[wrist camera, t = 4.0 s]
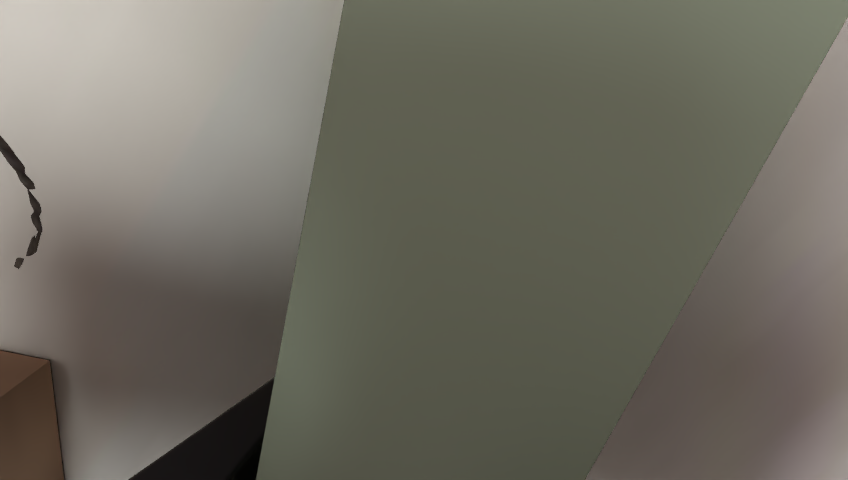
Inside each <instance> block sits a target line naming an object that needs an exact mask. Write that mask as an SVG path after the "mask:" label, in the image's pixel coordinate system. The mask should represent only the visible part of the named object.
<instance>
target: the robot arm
mask: <svg viewBox="0 0 848 480" xmlns="http://www.w3.org/2000/svg"><path fill="white" fill-rule="evenodd" d="M274 379H275V378H273V379H272V380H270V381H269V382H267V383H266V384H265V385H263V386H262V387H260V388H259V389H257V390H256V391H255V392H253V393H252V394H250V395H249V396H247V397H246V398H245V399H243V400H242V401H240V402H239V403H237V404H236V405H234V406H233V407H232V408H230V409H229V410H227V411H226V412H224V413H223V414H222V415H220V416H219V417H217V418H216V419H214V420H213V421H212V422H210V423H209V424H207V425H206V426H204V427H203V428H202V429H200V430H199V431H197V432H196V433H194V434H193V435H192V436H190V437H189V438H187V439H186V440H184V441H183V442H182V443H180V444H179V445H177V446H176V447H174V448H173V449H172V450H170V451H169V452H167V453H166V454H164V455H163V456H161V457H160V458H159V459H157V460H156V461H154V462H153V463H151V464H150V465H149V466H147V467H146V468H144V469H143V470H141V471H140V472H139V473H137V474H136V475H134V476H133V477H131V478H130V479H129V480H256V477H257V471H258V466H259V460H260V455H261V450H262V444H263V439H264V433H265V428H266V422H267V417H268V412H269V406H270V401H271V395H272V390H273V385H274Z"/></svg>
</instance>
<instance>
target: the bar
mask: <svg viewBox="0 0 848 480" xmlns="http://www.w3.org/2000/svg"><path fill="white" fill-rule="evenodd" d="M847 17H848V0H344V5H343V10H342V16H341V21H340V27H339V32H338V38H337V43H336V48H335V54H334V59H333V65H332V70H331V76H330V81H329V86H328V92H327V97H326V103H325V108H324V113H323V119H322V124H321V130H320V135H319V141H318V146H317V151H316V157H315V162H314V168H313V173H312V179H311V184H310V189H309V195H308V200H307V206H306V211H305V216H304V222H303V227H302V233H301V238H300V244H299V249H298V254H297V260H296V265H295V271H294V276H293V282H292V287H291V292H290V298H289V303H288V309H287V314H286V319H285V325H284V330H283V336H282V341H281V347H280V352H279V357H278V363H277V368H276V374H275V379H274V385H273V390H272V395H271V401H270V406H269V412H268V417H267V422H266V428H265V433H264V439H263V444H262V450H261V455H260V460H259V466H258V471H257V477H256V480H585V479H586V477H587V475H588V473H589V471H590V470H591V468H592V466H593V464H594V463H595V461H596V459H597V457H598V456H599V454H600V452H601V450H602V449H603V447H604V445H605V443H606V442H607V440H608V438H609V436H610V435H611V433H612V431H613V429H614V427H615V426H616V424H617V422H618V420H619V419H620V417H621V415H622V413H623V412H624V410H625V408H626V406H627V405H628V403H629V401H630V399H631V398H632V396H633V394H634V392H635V390H636V389H637V387H638V385H639V383H640V382H641V380H642V378H643V376H644V375H645V373H646V371H647V369H648V368H649V366H650V364H651V362H652V361H653V359H654V357H655V355H656V354H657V352H658V350H659V348H660V346H661V345H662V343H663V341H664V339H665V338H666V336H667V334H668V332H669V331H670V329H671V327H672V325H673V324H674V322H675V320H676V318H677V317H678V315H679V313H680V311H681V309H682V308H683V306H684V304H685V302H686V301H687V299H688V297H689V295H690V294H691V292H692V290H693V288H694V287H695V285H696V283H697V281H698V280H699V278H700V276H701V274H702V273H703V271H704V269H705V267H706V265H707V264H708V262H709V260H710V258H711V257H712V255H713V253H714V251H715V250H716V248H717V246H718V244H719V243H720V241H721V239H722V237H723V236H724V234H725V232H726V230H727V228H728V227H729V225H730V223H731V221H732V220H733V218H734V216H735V214H736V213H737V211H738V209H739V207H740V206H741V204H742V202H743V200H744V199H745V197H746V195H747V193H748V192H749V190H750V188H751V186H752V184H753V183H754V181H755V179H756V177H757V176H758V174H759V172H760V170H761V169H762V167H763V165H764V163H765V162H766V160H767V158H768V156H769V155H770V153H771V151H772V149H773V147H774V146H775V144H776V142H777V140H778V139H779V137H780V135H781V133H782V132H783V130H784V128H785V126H786V125H787V123H788V121H789V119H790V118H791V116H792V114H793V112H794V111H795V109H796V107H797V105H798V103H799V102H800V100H801V98H802V96H803V95H804V93H805V91H806V89H807V88H808V86H809V84H810V82H811V81H812V79H813V77H814V75H815V74H816V72H817V70H818V68H819V67H820V65H821V63H822V61H823V59H824V58H825V56H826V54H827V52H828V51H829V49H830V47H831V45H832V44H833V42H834V40H835V38H836V37H837V35H838V33H839V31H840V30H841V28H842V26H843V24H844V22H845V21H846V19H847Z"/></svg>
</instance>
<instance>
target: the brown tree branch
mask: <svg viewBox="0 0 848 480" xmlns="http://www.w3.org/2000/svg"><path fill="white" fill-rule="evenodd" d="M0 151H1V153H2V154H3V155H4V157H5V158H6V160H7V161H8V163H9V164H10V165H11V166H12V167H13V168H14V169H15V170H16V172H17V174H18V177H19V179H20V181H21V182H22V183H23V184H24V186H25V187H26V188H27V189H28V194H29V199H30V203H31V205H32V207H33V209H34V212H33V214H32V215H31V218H32V222H33V224H34V226H35V227H36V229H37V231H38V233H37V236H36V238H35V236H34V237H32V239H31V242H30V245H29V247H28V251H27V255H26V256H30V255H33V254H34V253H36V252H37V247H38V243H39V239H40V235H41V232H42V226H41V222H40V217H39V216H40V213H41V207H40V204H39V202H38V201H37V200H36V199H35V197H34V196H33V195H32V194H31V192H30V191H29V189H35V186H34V183H33V182H32V181H31V180H30V178H29V177H28V176H27V175H26V174H25V167H24V165H23V164H22V163H21V161H20V160H19V159H18V158H17V157H16V155H15V154H14V152H13V151H12V149H11V148H10V147H9V145H8V144H7V143H6V142H5V141H4V139H3V138H2V137H1V136H0ZM23 260H24V259H23V258H17V259H16V262H15V265H14V266H15V267H16V268H18V269H19V268H20V266H21V265H22V263H23Z"/></svg>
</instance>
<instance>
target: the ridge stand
mask: <svg viewBox="0 0 848 480" xmlns="http://www.w3.org/2000/svg"><path fill="white" fill-rule="evenodd" d="M0 480H64V475H63V467H62V458H61V450H60V442H59V434H58V425H57V417H56V409H55V400H54V392H53V384H52V376H51V367H50V361H49V360H45V359H40V358H35V357H30V356H25V355H20V354H15V353H10V352H5V351H0Z"/></svg>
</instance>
